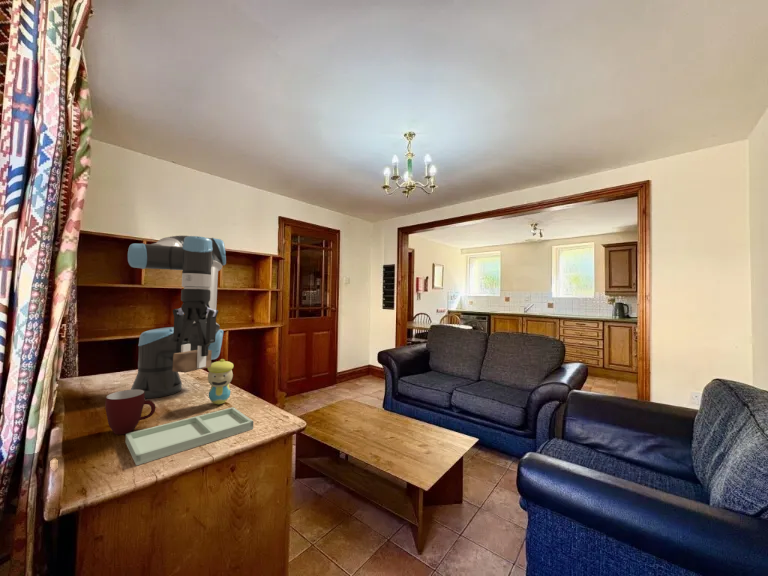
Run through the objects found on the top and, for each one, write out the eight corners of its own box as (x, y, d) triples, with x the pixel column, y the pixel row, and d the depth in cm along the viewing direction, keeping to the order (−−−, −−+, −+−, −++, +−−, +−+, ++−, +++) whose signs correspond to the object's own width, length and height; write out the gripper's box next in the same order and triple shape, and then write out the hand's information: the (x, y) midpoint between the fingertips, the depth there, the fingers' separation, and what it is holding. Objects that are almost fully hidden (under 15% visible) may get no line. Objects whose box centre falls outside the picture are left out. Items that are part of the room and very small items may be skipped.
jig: (125, 442, 77) (125, 433, 77) (233, 414, 96) (233, 407, 96) (136, 465, 68) (136, 455, 68) (253, 428, 87) (253, 421, 87)
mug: (153, 420, 90) (154, 386, 90) (155, 430, 84) (157, 393, 84) (104, 429, 83) (106, 392, 83) (103, 441, 77) (104, 401, 77)
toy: (204, 410, 98) (205, 363, 98) (207, 400, 107) (209, 357, 107) (231, 407, 102) (233, 361, 102) (232, 398, 110) (234, 356, 110)
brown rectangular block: (172, 371, 88) (173, 353, 88) (199, 365, 96) (200, 349, 97) (185, 372, 87) (186, 354, 87) (210, 366, 95) (211, 350, 96)
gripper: (159, 287, 90) (156, 367, 90) (213, 288, 87) (210, 371, 87) (180, 288, 98) (177, 362, 97) (231, 289, 95) (228, 365, 94)
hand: (193, 366), depth 92 cm, fingers closed on brown rectangular block, 5 cm apart
